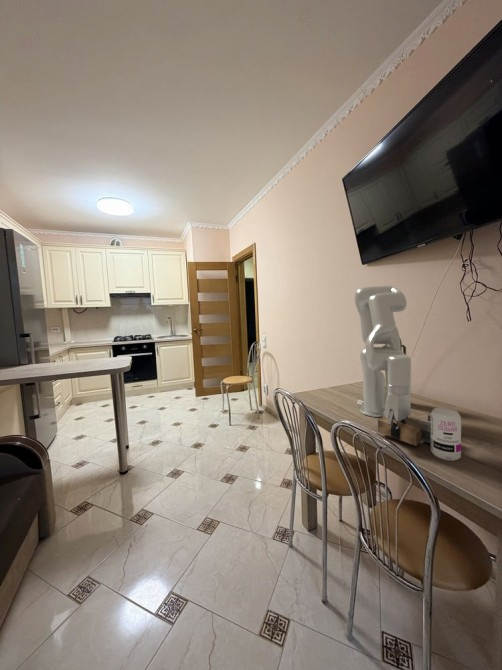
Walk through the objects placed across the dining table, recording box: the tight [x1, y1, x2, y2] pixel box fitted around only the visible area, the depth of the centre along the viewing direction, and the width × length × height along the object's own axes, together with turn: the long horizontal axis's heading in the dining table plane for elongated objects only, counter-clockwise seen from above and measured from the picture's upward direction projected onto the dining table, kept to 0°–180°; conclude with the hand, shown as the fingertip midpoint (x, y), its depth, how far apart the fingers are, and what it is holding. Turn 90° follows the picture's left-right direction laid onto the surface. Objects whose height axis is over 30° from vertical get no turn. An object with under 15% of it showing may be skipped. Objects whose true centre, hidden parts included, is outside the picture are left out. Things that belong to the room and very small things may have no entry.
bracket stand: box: [384, 410, 431, 445], centre depth 105 cm, size 19×8×8 cm, turn 35°
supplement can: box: [430, 407, 462, 462], centre depth 89 cm, size 8×8×15 cm
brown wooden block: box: [377, 417, 422, 447], centre depth 101 cm, size 14×4×5 cm, turn 35°
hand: (398, 435), depth 101 cm, fingers closed on brown wooden block, 4 cm apart
